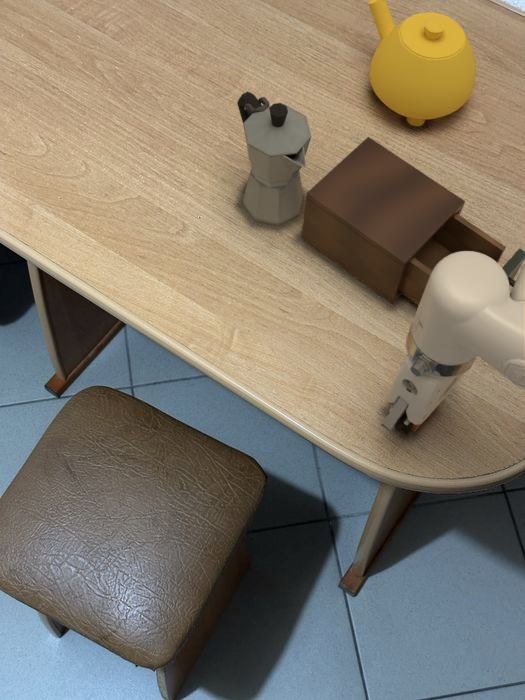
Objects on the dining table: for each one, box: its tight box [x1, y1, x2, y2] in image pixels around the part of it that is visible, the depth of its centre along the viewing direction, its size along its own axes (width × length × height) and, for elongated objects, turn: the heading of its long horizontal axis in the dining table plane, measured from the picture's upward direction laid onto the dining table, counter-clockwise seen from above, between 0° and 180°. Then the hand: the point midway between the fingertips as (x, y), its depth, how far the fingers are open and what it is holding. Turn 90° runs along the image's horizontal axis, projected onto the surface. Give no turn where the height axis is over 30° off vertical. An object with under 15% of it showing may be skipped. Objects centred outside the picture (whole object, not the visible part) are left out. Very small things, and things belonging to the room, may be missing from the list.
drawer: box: [399, 213, 525, 306], centre depth 107 cm, size 19×12×8 cm, turn 49°
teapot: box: [367, 0, 477, 127], centre depth 123 cm, size 20×16×14 cm
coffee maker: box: [236, 91, 312, 227], centre depth 111 cm, size 15×9×18 cm, turn 33°
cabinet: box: [301, 136, 466, 305], centre depth 111 cm, size 16×13×10 cm
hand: (411, 409), depth 103 cm, fingers open, 4 cm apart
